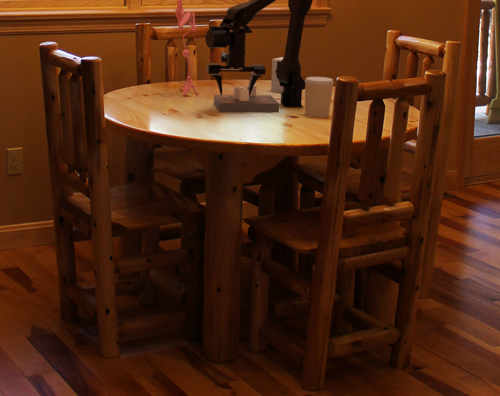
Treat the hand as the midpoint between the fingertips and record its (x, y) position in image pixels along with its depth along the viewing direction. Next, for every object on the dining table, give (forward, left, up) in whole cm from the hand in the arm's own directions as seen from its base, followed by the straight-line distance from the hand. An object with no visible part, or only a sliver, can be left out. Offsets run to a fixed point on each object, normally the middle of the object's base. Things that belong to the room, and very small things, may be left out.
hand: (235, 95), depth 234 cm
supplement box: (-25, -37, -5) cm, 45 cm away
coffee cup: (-27, +7, -5) cm, 28 cm away
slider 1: (-2, -5, -2) cm, 5 cm away
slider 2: (-3, 0, -2) cm, 3 cm away
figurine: (+16, -31, -5) cm, 36 cm away
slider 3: (-7, -9, -2) cm, 12 cm away
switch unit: (-5, -5, -5) cm, 8 cm away
